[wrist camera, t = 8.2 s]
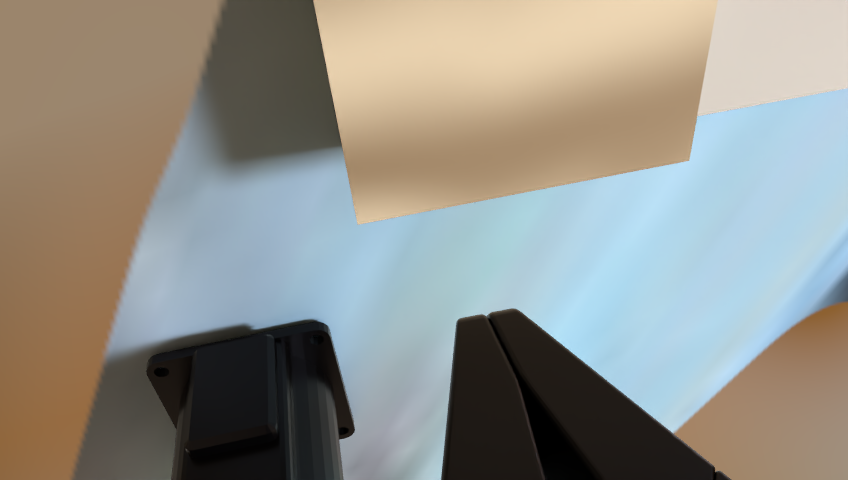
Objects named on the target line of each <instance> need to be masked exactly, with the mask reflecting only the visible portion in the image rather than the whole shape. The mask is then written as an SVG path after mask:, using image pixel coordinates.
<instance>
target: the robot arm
mask: <svg viewBox="0 0 848 480" xmlns="http://www.w3.org/2000/svg"><path fill="white" fill-rule="evenodd" d="M314 335H321V336H318V337H312V336H314ZM158 367H164V368H158ZM146 372H147V376H148V378H149V379H150V381H151V383H152V385H153V387H154V389H155V390H156V392H157V394H158V396H159V398H160V400H161V402H162V403H163V405H164V407H165V409H166V411H167V413H168V414H169V416H170V418H171V420H172V422H173V424H174V425H175V427H176V429H177V433H176V441H175V450H174V459H173V468H172V477H171V480H344V479H343V470H342V461H341V452H340V444H339V439H344V438H347V437H349V436H351V435H352V434H353V433H354V431H355V427H354V420H353V416H352V413H351V409H350V405H349V401H348V397H347V394H346V390H345V386H344V382H343V379H342V375H341V371H340V367H339V363H338V360H337V356H336V352H335V348H334V344H333V341H332V337H331V333H330V329H329V328H328V326H327V325H326V324H324V323H321V322H313V323H308V324H303V325H298V326H293V327H288V328H283V329H279V330H274V331H269V332H264V333H259V334H254V335H249V336H244V337H240V338H235V339H230V340H225V341H220V342H215V343H210V344H205V345H201V346H196V347H191V348H186V349H181V350H176V351H171V352H166V353H162V354H157V355H155V356H152V357H151V358H150V359H149V361H148V364H147V370H146ZM441 480H731V479H730V478H729V477H727V476H726V475H725V474H724V473H722V472H721V471H716V472H715V467H714V466H713V465H712V464H711V463H709V462H708V461H707V460H706V459H704V458H703V457H702V456H701V455H699V454H698V453H697V452H696V451H694V450H693V449H692V448H691V447H689V446H688V445H687V444H686V443H684V442H683V441H682V440H681V439H679V438H678V437H677V436H675V435H674V434H673V433H672V432H671V431H669V430H668V429H667V428H666V427H664V426H663V425H662V424H661V423H659V422H658V421H657V420H656V419H654V418H653V417H652V416H651V415H649V414H648V413H647V412H646V411H644V410H643V409H642V408H641V407H639V406H638V405H637V404H636V403H634V402H633V401H632V400H631V399H629V398H628V397H627V396H626V395H624V394H623V393H622V392H621V391H619V390H618V389H617V388H616V387H614V386H613V385H612V384H610V383H609V382H608V381H607V380H605V379H604V378H603V377H602V376H600V375H599V374H598V373H597V372H595V371H594V370H593V369H592V368H590V367H589V366H588V365H587V364H585V363H584V362H583V361H582V360H580V359H579V358H578V357H577V356H575V355H574V354H573V353H572V352H570V351H569V350H568V349H567V348H565V347H564V346H563V345H562V344H560V343H559V342H558V341H557V340H555V339H554V338H553V337H552V336H550V335H549V334H548V333H547V332H545V331H544V330H543V329H542V328H540V327H539V326H538V325H537V324H535V323H534V322H533V321H532V320H530V319H529V318H528V317H527V316H525V315H524V314H523V313H522V312H520V311H519V310H517V309H507V310H502V311H496V312H491V313H490V314H488V315H487V317H486V316H485V315H483V314H480V315H475V316H470V317H465V318H460V319H459V320H458V321H457V323H456V332H455V342H454V352H453V363H452V373H451V384H450V394H449V404H448V415H447V425H446V435H445V446H444V456H443V466H442V477H441Z"/></svg>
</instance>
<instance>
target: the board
mask: <svg viewBox="0 0 848 480" xmlns="http://www.w3.org/2000/svg"><path fill="white" fill-rule="evenodd" d="M313 1H314V6H315V12H316V17H317V22H318V27H319V32H320V37H321V42H322V47H323V52H324V57H325V62H326V67H327V72H328V77H329V82H330V87H331V92H332V97H333V102H334V107H335V112H336V117H337V123H338V128H339V133H340V138H341V143H342V148H343V153H344V158H345V163H346V168H347V173H348V178H349V183H350V188H351V193H352V198H353V203H354V208H355V213H356V218H357V223H358V224H363V223H369V222H374V221H379V220H384V219H389V218H395V217H400V216H405V215H410V214H415V213H420V212H426V211H431V210H436V209H441V208H446V207H451V206H457V205H462V204H467V203H472V202H477V201H483V200H488V199H493V198H498V197H503V196H508V195H514V194H519V193H524V192H529V191H534V190H539V189H545V188H550V187H555V186H560V185H565V184H571V183H576V182H581V181H586V180H591V179H596V178H602V177H607V176H612V175H617V174H622V173H627V172H633V171H638V170H643V169H648V168H653V167H659V166H664V165H669V164H674V163H679V162H684V161H689V158H690V153H691V147H692V142H693V136H694V131H695V125H696V119H697V114H698V108H699V103H700V97H701V92H702V86H703V80H704V75H705V69H706V64H707V58H708V52H709V47H710V41H711V36H712V30H713V25H714V19H715V13H716V8H717V2H718V0H313Z"/></svg>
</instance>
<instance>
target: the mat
mask: <svg viewBox="0 0 848 480" xmlns="http://www.w3.org/2000/svg"><path fill="white" fill-rule="evenodd" d="M845 88H848V0H718V2H717V8H716V13H715V19H714V25H713V30H712V36H711V41H710V47H709V52H708V58H707V64H706V69H705V75H704V80H703V86H702V92H701V97H700V103H699V108H698V114H697V116H701V115H706V114H712V113H717V112H722V111H728V110H733V109H738V108H744V107H749V106H754V105H760V104H765V103H770V102H776V101H781V100H787V99H792V98H797V97H803V96H808V95H813V94H819V93H824V92H829V91H835V90H840V89H845Z"/></svg>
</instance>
